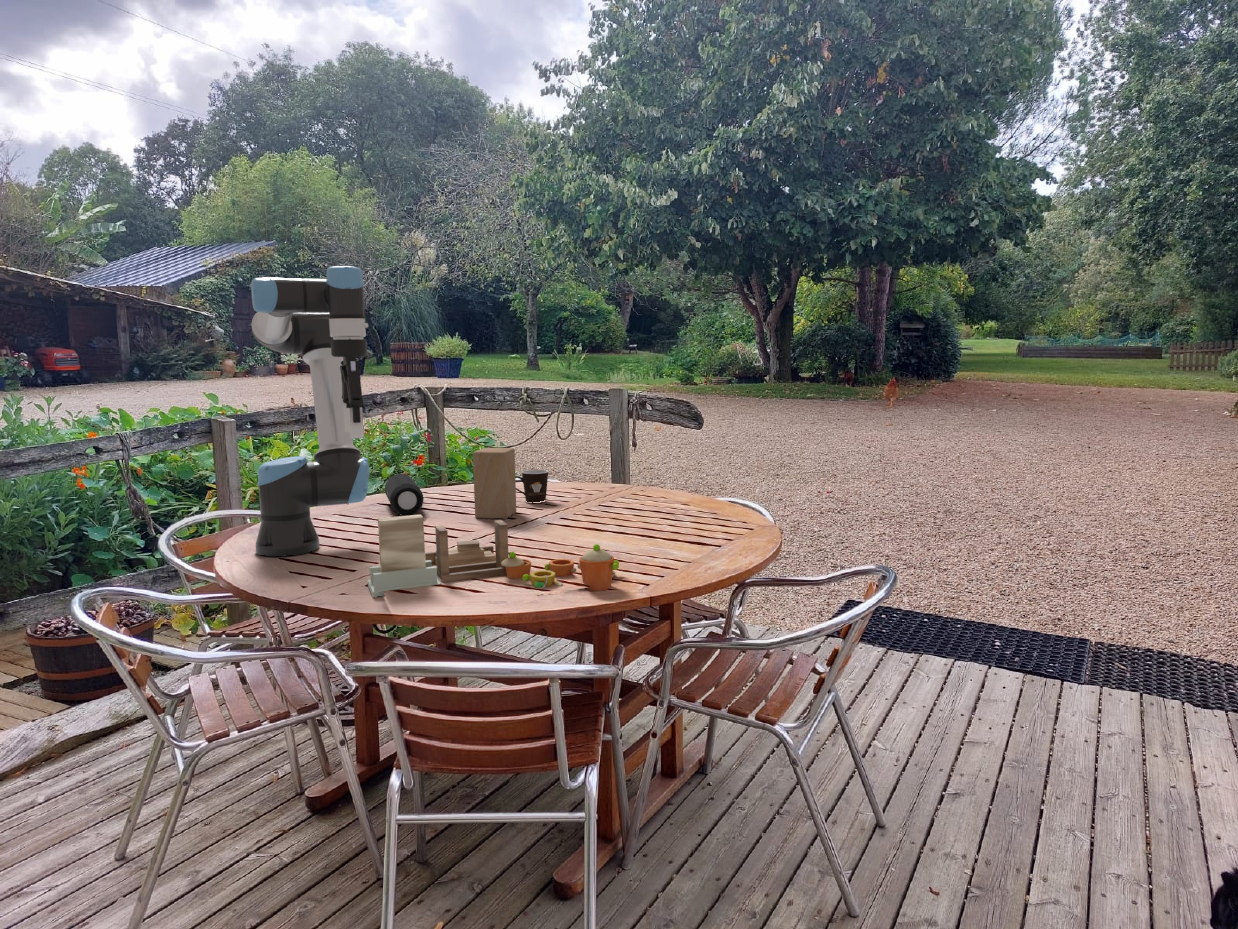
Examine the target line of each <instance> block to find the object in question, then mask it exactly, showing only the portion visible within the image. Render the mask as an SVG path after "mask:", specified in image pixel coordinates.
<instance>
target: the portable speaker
mask: <svg viewBox="0 0 1238 929" xmlns="http://www.w3.org/2000/svg"><path fill="white" fill-rule="evenodd" d="M384 493H385V496H386V497H387V499H388V500H387V501H388V502H389V504H390V506H391V509H392V510H393V511H394V512H395V513H396V514H397V515H399V516H410V515H416V513H418V512H419V511H420V510H421V509H422V507H423V505H424V494H423V491H422V490H421V489H420V487H419V486H418V485H417V483H416V481H415V480H414V479H413V478H412V477H411V476H409V475H407V474H405V473H396V474H394V475H391V476H390V477H389V478H388V479H387V481H386V483H385V485H384Z"/></svg>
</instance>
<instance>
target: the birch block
mask: <svg viewBox="0 0 1238 929" xmlns="http://www.w3.org/2000/svg"><path fill="white" fill-rule="evenodd" d="M377 526H378V527H377V528H378V531H377V532H378V547H379V549H378V550H379V551H378V552H379V566H380V569H381V572H390V571H398V570H407V569H416V568H425V567H426V566H425V553H426V549H425V530H424V529H425V526H424V516H423V515H422V514H413V515H410V516H403V515H399V516H389V517H379V518H377Z"/></svg>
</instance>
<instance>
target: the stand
mask: <svg viewBox="0 0 1238 929" xmlns="http://www.w3.org/2000/svg"><path fill="white" fill-rule="evenodd" d="M425 566H426V567H425V568H416V569H407V570H398V571H390V572H381V569H380V565H377V566H369V573H370V575H369V577H370V578H369V579H367V582H366V583H367V586H368V590H369V591H370V593H372V594H371V596H372V597H375V598H378V597H377V596H383V597H386V595H385V592H386V591H388V592H389V591H397V590H404V589H412V588H419V587H427V586H436V585H442V582H439V580H438V579H437V568H436V566H433V567H432V561H431V560H427V561H425Z"/></svg>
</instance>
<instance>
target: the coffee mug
mask: <svg viewBox="0 0 1238 929" xmlns="http://www.w3.org/2000/svg"><path fill="white" fill-rule="evenodd" d="M521 476H522V477H521ZM521 476H519V475H515V479H519V480H520V481H521V482H522V485H523V490H524V491H522V490H520V489H519V488H517V487H516V492H517V491H518V492H519V493H520V494H523V495H524V498H525V502H526V501H527V502H540V501H544V500H547V490H548V480H549V479H548V478H549V470H546V469H528V470H527V469H526V470H523V471H521Z"/></svg>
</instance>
